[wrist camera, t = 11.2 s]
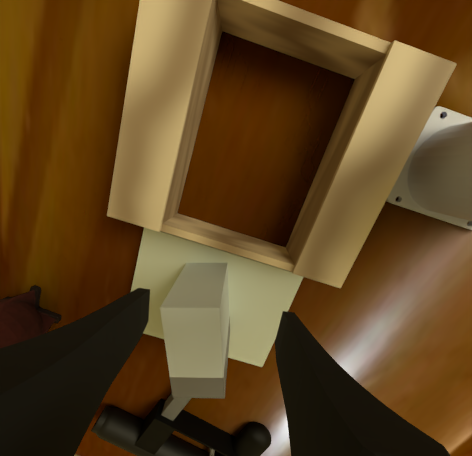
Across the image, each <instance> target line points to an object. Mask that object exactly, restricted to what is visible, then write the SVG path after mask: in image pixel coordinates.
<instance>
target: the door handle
mask: <svg viewBox="0 0 472 456" xmlns="http://www.w3.org/2000/svg"><path fill="white" fill-rule="evenodd" d="M190 399H191V398H180V397H173V396H172V393H171V395H170V396H169V397H168V399H167V400H164V399H161V400H160V401H159V402H158V403H157V405H156V406H155V407H154V408H153V410H152V411H151V412H150V413H149V415H148V416H147V417H146V418H145V420H144V421H143V420H141V419H139V418H137V417H135V416H133V415H131V414H129V413H127V412H125V411H123V410H121V409H119V408H117V407H109V406H106V407H105V408H104V410H103V411H102V413H101V415H100V416H99V418H98V420H97V421H96V423H95V425H94V426H93V428H92V430H91V431H92V432H94V433H96V434H97V436H98V437H99V438H101V439H103V440H105V441H107V442H109V443H111V444H114V445H116V446H118V447H120V448H122V449H124V450H126V451H128V452H130V453H133V454H135V455H137V456H214V453H215V451H217V452H219V453H221V454H220V455H219V456H260V455H261V454H262V453H263V452H264V451H265V450H266V449H267V448H268V447H269V446H270V444H271V435H270V432H269V431H268V429H267V428H266V427H265V426H264V425H262V424H260V423H257V422H251V423H249V424H248V425H247V426H246V427H245V428H244V429H243V430H242V431H241V432H240V433H239V434H238V436H237V437H234V436H232V435H231V434H229V433H227V432H225V431H223V430H221V429H219V428H217V427H215V426H213V425H211V424H209V423H208V422H206V421H204V420H202V419H200V418H198V417H196V416H194V415H192V414H190V413H188V412H186V411H185V410H183V408H184V407H185V405H186V404H187V403H188V402H189V400H190ZM174 430H175V431H177V432H179V433H181V434H183V435H185V436H187V437H189V438H191V439H193V440H195V441H197V442H199V443H201V444H203V445H205V446H207V447H209V448H210V454H209V453H207V452H205V451H203V450H201V449H199V448H197V447H195V446H193V445H191V444H189V443H187V442H185V441H183V440H181V439H179V438H177V437H175V436H173V435H171V434H172V433H173V432H174Z"/></svg>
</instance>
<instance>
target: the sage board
mask: <svg viewBox="0 0 472 456" xmlns="http://www.w3.org/2000/svg"><path fill="white" fill-rule="evenodd" d="M186 263H228V288H229V313H230V340H229V352H228V358H232V359H235V360H239V361H242V362H246V363H249V364H253V365H256V366H260V367H263V365H264V363H265V360H266V358H267V356H268V354H269V352H270V349H271V347H272V345H273V343H274V341H275V338H276V336H277V332H278V328H279V324H280V320H281V316H282V312H283V311H286V312H288V310H289V308H290V305H291V303H292V301H293V299H294V297H295V294H296V292H297V290H298V288H299V286H300V283H301V281H302V279H303V277H302V276H299V275H296V274H293V273H292V272H291V271H288V270H285V269H281V268H278V267H275V266H272V265H269V264H265V263H262V262H259V261H256V260H252V259H249V258H246V257H243V256H240V255H236V254H233V253H230V252H227V251H223V250H220V249H217V248H214V247H211V246H207V245H204V244H201V243H198V242H195V241H191V240H188V239H185V238H182V237H178V236H175V235H172V234H169V233H166V232H162V231H160V232H157V231H154V230H151V229H148V228H144V230H143V235H142V240H141V244H140V249H139V254H138V259H137V264H136V269H135V273H134V278H133V283H132V288H131V292H132V291H134V290H135V289H137V288H144V289H150V302H149V321H148V323H147V326H146V328H145V330H144V332H143V333H144V334H148V335H151V336H155V337H158V338H162V339H164V332H163V325H162V318H161V311H160V307H161V305H162V304H163V302H164V300H165V298H166V297H167V295H168V293H169V292H170V290H171V288H172V287H173V285H174V283H175V282H176V280H177V278H178V277H179V275H180V273H181V272H182V270H183V268H184V267H185V265H186Z"/></svg>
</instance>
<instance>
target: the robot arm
mask: <svg viewBox="0 0 472 456" xmlns="http://www.w3.org/2000/svg"><path fill="white" fill-rule="evenodd" d="M441 113H442V114H443V116H442V118H440V114H441ZM397 197H399V199H398V201H396V198H397ZM386 201H387V202H389V203H391V204H394V205H397V206H400V207H403V208H406V209H409V210H412V211H415V212H418V213H421V214H424V215H427V216H430V217H433V218H436V219H439V220H442V221H445V222H448V223H451V224H454V225H457V226H460V227H463V228H466V229H469V230H472V118H471V117H468V116H465V115H463V114H460V113H457V112H454V111H452V110H449V109H446V108H443V107H440V106H438V107H434V109H433V111H432V113H431V115H430V117H429V119H428V121H427V123H426V124H425V126H424V128H423V130H422V132H421V134H420V136H419V138H418V140H417V142H416V144H415V146H414V148H413V150H412V151H411V153H410V155H409V157H408V159H407V161H406V163H405V165H404V167H403V169H402V171H401V173H400V175H399V177H398V178H397V180H396V182H395V184H394V186H393V188H392V190H391V192H390V194H389V196H388V198H387V200H386ZM468 222H469V223H468ZM467 223H468V224H467ZM149 302H150V289H144V288H137V289H135V290H134V291H132V292H130V293H128V294H126V295H125V296H123V297H121V298H119V299H118V300H116V301H114V302H112V303H110V304H109V305H107V306H105V307H103V308H101V309H99V310H97V311H95V312H93V313H91V314H89V315H87V316H85V317H83V318H81V319H79V320H77V321H75V322H72V323H70V324H68V325H65V326H63V327H61V328H58V329H56V330H53V331H50V332H48V333H45V334H42V335H39V336H36V337H34V338H31V339H28V340H25V341H22V342H19V343H16V344H13V345H10V346H6V347H3V348H0V456H74V455H75V453H76V451H77V448H78V446H79V444H80V442H81V440H82V438H83V436H84V434H85V433H86V431H87V429H88V427H89V425H90V423H91V421H92V419H93V417H94V415H95V413H96V411H97V409H98V407H99V405H100V404H101V402H102V400H103V398H104V396H105V394H106V392H107V391H108V389H109V387H110V385H111V384H112V382H113V381H114V379H115V377H116V376H117V374H118V373H119V371H120V370H121V368H122V367H123V365H124V363H125V362H126V360H127V359H128V357H129V356H130V354H131V353H132V351H133V349H134V348H135V346H136V345H137V343H138V341H139V340H140V338H141V336H142V334H143V332H144V330H145V328H146V326H147V323H148V321H149ZM275 349H276V362H277V367H278V372H279V378H280V383H281V388H282V393H283V398H284V403H285V408H286V414H287V420H288V429H289V438H290V447H291V456H450V454H449V453H448V451H447V450H446V449H445V447H444V446H443V445H441V444H440V443H438V442H437V441H435V440H434V439H432V438H431V437H429V436H428V435H426V434H425V433H423V432H422V431H420V430H419V429H418V428H416V427H415V426H413V425H412V424H410V423H409V422H407V421H406V420H404V419H403V418H402V417H400V416H399V415H398V414H396V413H395V412H394V411H392V410H391V409H389V408H388V407H387V406H386V405H384V404H383V403H382V402H380V401H379V400H378V399H377V398H375V397H374V396H373V395H372V394H371V393H369V392H368V391H367V390H366V389H365V388H363V387H362V386H361V385H360V384H359V383H358V382H357V381H355V380H354V379H353V378H352V377H351V376H350V375H349V374H348V373H347V372H346V371H345V370H344V369H343V368H342V367H340V366H339V365H338V364H337V362H336V361H335V360H334V359H333V358H332V357H331V356H330V355H329V354H328V353H327V352H326V351H325V350H324V349H323V347H322V346H321V345H320V344H319V343H318V342H317V340H316V339H315V338H314V337H313V336H312V334H311V333H310V332H309V331H308V329H307V328H306V327H305V326H304V324H303V323H302V322H301V321H300V319H299V318H298V317H297V316H296V314H295V313H293V312H286V311H283V312H282V316H281V320H280V324H279V328H278V332H277V336H276V340H275Z"/></svg>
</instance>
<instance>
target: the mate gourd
mask: <svg viewBox="0 0 472 456" xmlns="http://www.w3.org/2000/svg"><path fill="white" fill-rule="evenodd" d="M40 294H41V288H40V287H39V286H33V287H31V288H30V291H29V292H27V293H24V294H21V295H18V296H15V297H13V298H11V297H6V298H3V299H1V300H0V348H3V347H6V346H10V345H13V344H16V343H19V342H22V341H25V340H28V339H31V338H34V337H36V336H39V335H42V334H45V333H46V332H47V331H48V330H49V328H50V327H51V325H52V324H53V323H54V322H55V323H58V322H59V321H60V320H61V315H59V314H57V313H54V312H51V311H48V310H45V309H43V308H40V307H39V300H40Z"/></svg>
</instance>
